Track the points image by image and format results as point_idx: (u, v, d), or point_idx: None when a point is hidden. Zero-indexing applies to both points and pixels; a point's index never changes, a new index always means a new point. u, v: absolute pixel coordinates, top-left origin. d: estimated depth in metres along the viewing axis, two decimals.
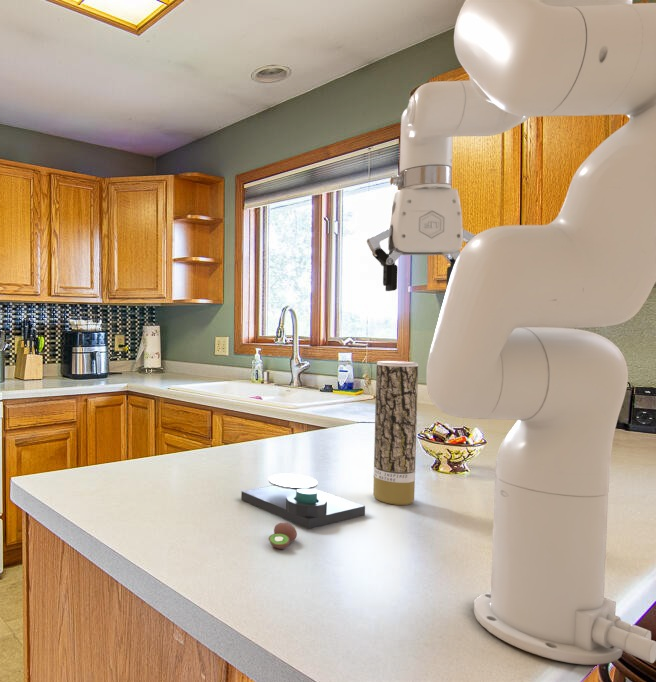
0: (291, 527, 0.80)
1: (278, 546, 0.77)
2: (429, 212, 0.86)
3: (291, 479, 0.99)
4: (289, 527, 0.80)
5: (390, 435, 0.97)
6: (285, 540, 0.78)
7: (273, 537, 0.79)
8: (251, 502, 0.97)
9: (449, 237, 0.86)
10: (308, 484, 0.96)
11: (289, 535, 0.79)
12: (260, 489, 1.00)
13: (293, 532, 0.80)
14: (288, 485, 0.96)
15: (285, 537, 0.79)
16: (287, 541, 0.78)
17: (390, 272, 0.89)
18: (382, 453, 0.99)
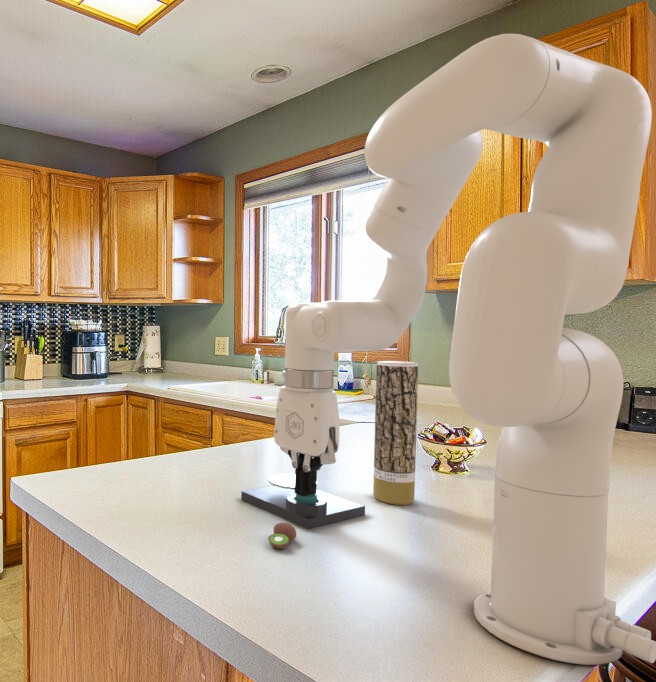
0: (291, 527, 0.80)
1: (278, 546, 0.77)
2: (293, 413, 0.88)
3: (291, 479, 0.99)
4: (288, 527, 0.80)
5: (390, 435, 0.97)
6: (285, 540, 0.78)
7: (272, 537, 0.79)
8: (251, 502, 0.97)
9: (307, 441, 0.85)
10: None
11: (289, 535, 0.79)
12: (260, 489, 1.00)
13: (292, 532, 0.80)
14: (288, 485, 0.96)
15: (285, 537, 0.79)
16: (287, 541, 0.78)
17: None
18: (382, 453, 0.99)
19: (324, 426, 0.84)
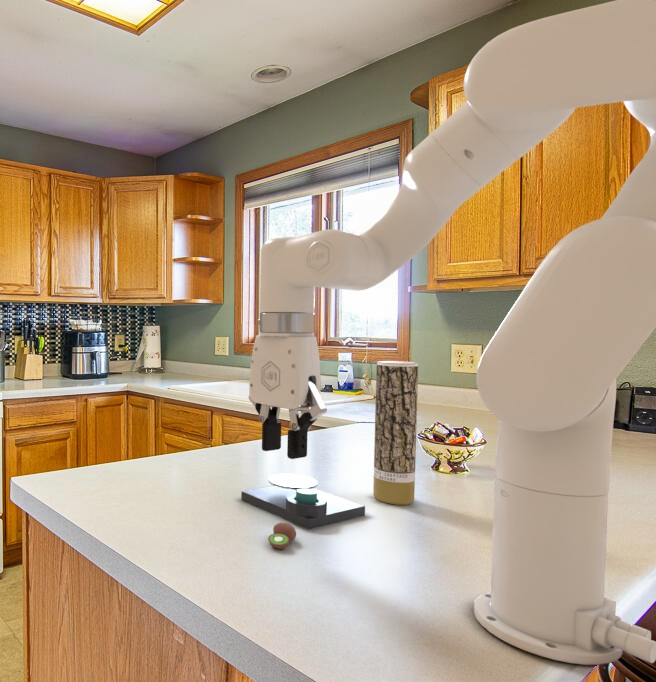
0: (290, 527, 0.80)
1: (278, 546, 0.77)
2: (269, 362, 0.78)
3: (291, 479, 0.99)
4: (288, 527, 0.80)
5: (390, 435, 0.97)
6: (285, 540, 0.78)
7: (272, 537, 0.79)
8: (251, 502, 0.97)
9: (284, 392, 0.76)
10: (308, 484, 0.96)
11: (289, 535, 0.79)
12: (260, 489, 1.00)
13: (292, 532, 0.80)
14: (288, 485, 0.96)
15: (285, 537, 0.79)
16: (287, 541, 0.78)
17: None
18: (382, 453, 0.99)
19: (303, 374, 0.74)
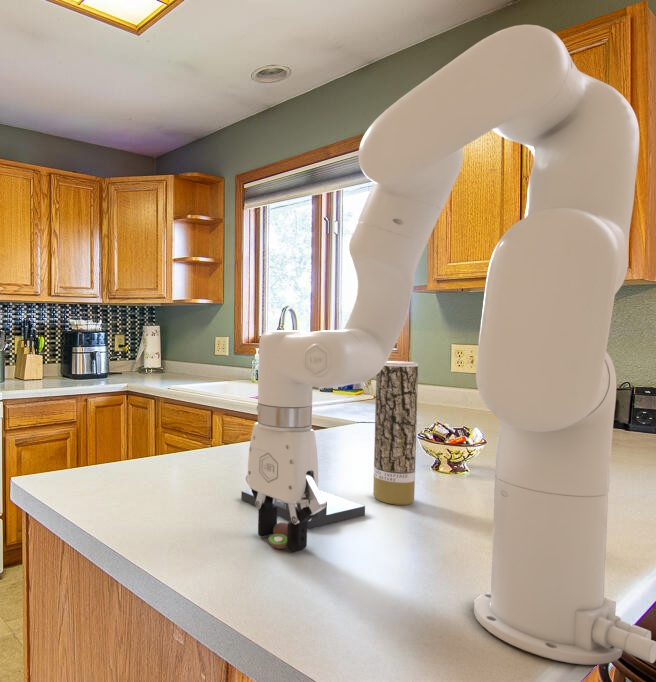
0: None
1: (278, 546, 0.77)
2: (267, 454, 0.79)
3: None
4: None
5: (390, 435, 0.97)
6: (284, 540, 0.78)
7: (272, 537, 0.79)
8: (251, 502, 0.97)
9: (282, 486, 0.76)
10: None
11: None
12: None
13: None
14: None
15: (284, 537, 0.79)
16: (286, 541, 0.78)
17: None
18: (382, 453, 0.99)
19: (300, 470, 0.75)
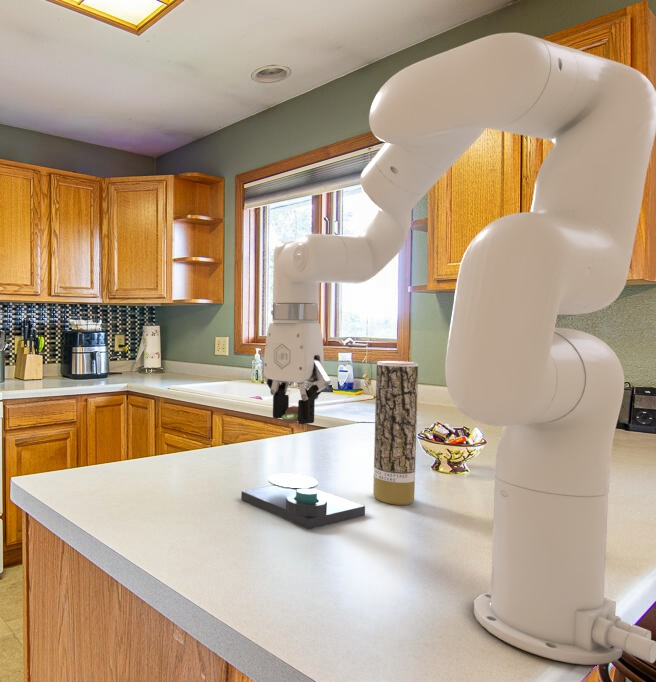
0: None
1: (290, 420, 0.93)
2: (281, 345, 0.94)
3: (291, 479, 0.99)
4: None
5: (390, 435, 0.97)
6: (295, 416, 0.93)
7: (285, 416, 0.95)
8: (251, 502, 0.97)
9: (294, 369, 0.92)
10: (308, 484, 0.96)
11: None
12: (260, 489, 1.00)
13: None
14: (288, 485, 0.96)
15: (295, 414, 0.94)
16: (297, 416, 0.93)
17: None
18: (382, 453, 0.99)
19: (309, 354, 0.90)
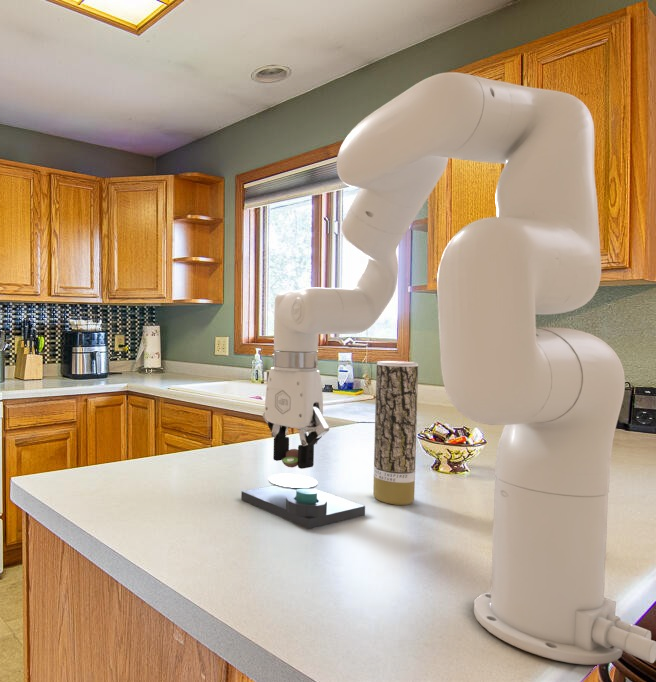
0: None
1: (290, 465, 0.96)
2: (281, 391, 0.97)
3: (291, 479, 0.99)
4: None
5: (390, 435, 0.97)
6: (295, 460, 0.96)
7: (285, 459, 0.98)
8: (251, 502, 0.97)
9: (294, 415, 0.95)
10: (308, 484, 0.96)
11: None
12: (260, 489, 1.00)
13: None
14: (288, 485, 0.96)
15: (295, 458, 0.97)
16: (297, 461, 0.96)
17: None
18: (382, 453, 0.99)
19: (309, 401, 0.93)
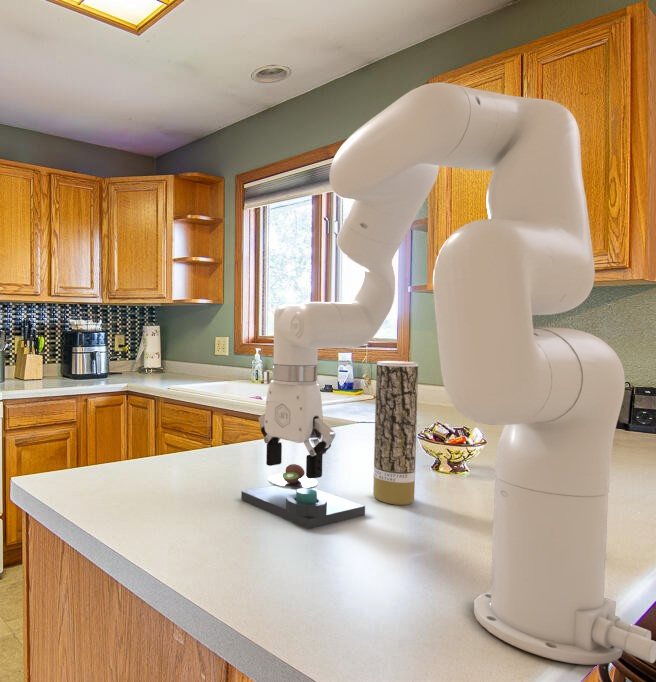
0: (300, 467, 0.99)
1: (290, 480, 0.96)
2: (281, 404, 0.97)
3: None
4: (298, 467, 0.99)
5: (390, 435, 0.97)
6: (295, 476, 0.96)
7: (285, 475, 0.98)
8: (251, 502, 0.97)
9: (293, 429, 0.95)
10: (308, 484, 0.96)
11: (298, 473, 0.98)
12: (260, 489, 1.00)
13: (301, 471, 0.98)
14: (288, 485, 0.96)
15: (295, 474, 0.97)
16: (297, 476, 0.96)
17: None
18: (382, 453, 0.99)
19: (308, 415, 0.93)
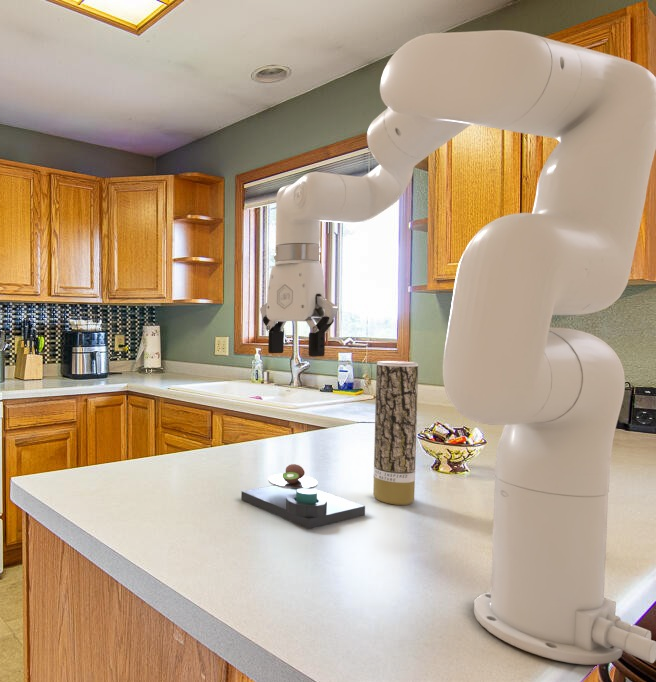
0: (300, 467, 0.99)
1: (290, 480, 0.96)
2: (283, 286, 0.96)
3: None
4: (298, 467, 0.99)
5: (390, 435, 0.97)
6: (295, 476, 0.96)
7: (285, 475, 0.98)
8: (251, 502, 0.97)
9: (296, 308, 0.94)
10: (308, 484, 0.96)
11: (298, 473, 0.98)
12: (260, 489, 1.00)
13: (301, 471, 0.98)
14: (288, 485, 0.96)
15: (295, 474, 0.97)
16: (297, 476, 0.96)
17: None
18: (382, 453, 0.99)
19: (311, 292, 0.92)
